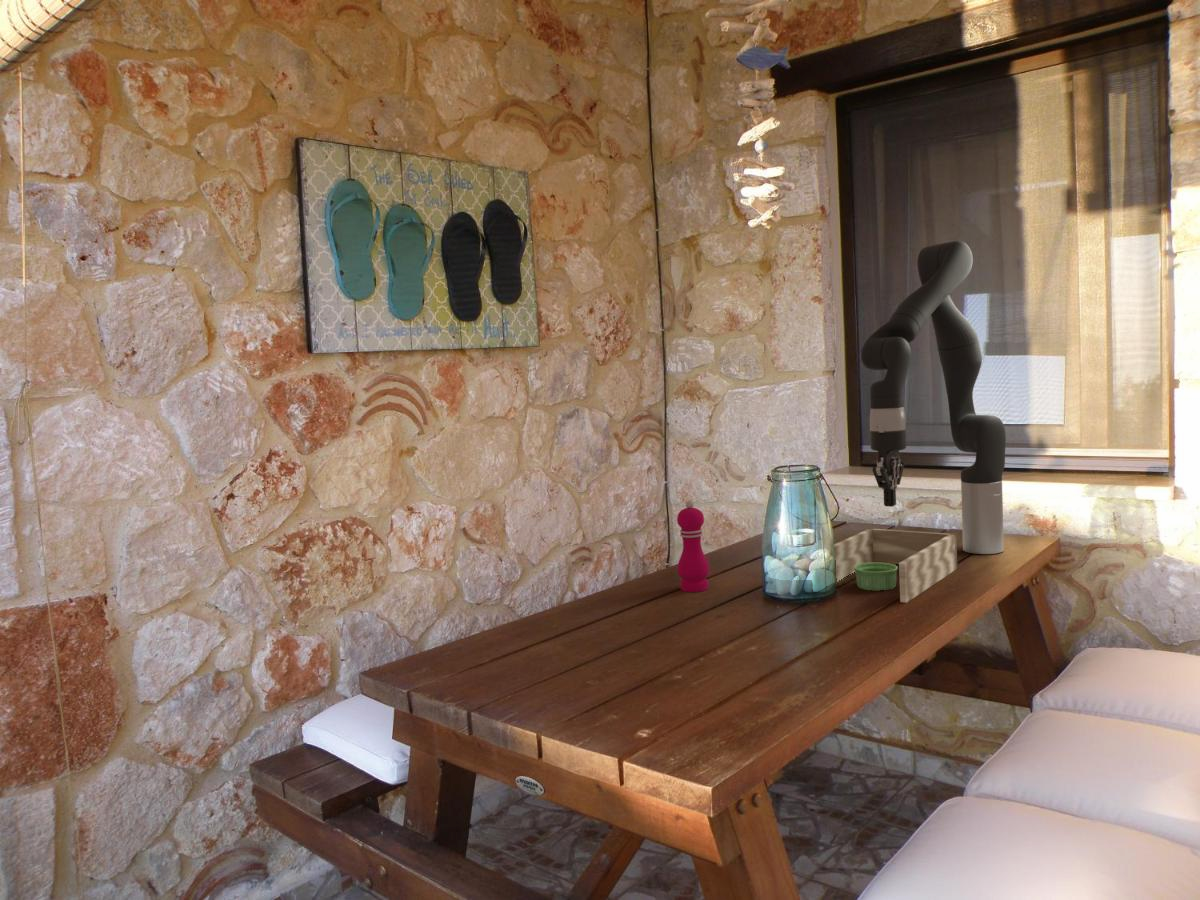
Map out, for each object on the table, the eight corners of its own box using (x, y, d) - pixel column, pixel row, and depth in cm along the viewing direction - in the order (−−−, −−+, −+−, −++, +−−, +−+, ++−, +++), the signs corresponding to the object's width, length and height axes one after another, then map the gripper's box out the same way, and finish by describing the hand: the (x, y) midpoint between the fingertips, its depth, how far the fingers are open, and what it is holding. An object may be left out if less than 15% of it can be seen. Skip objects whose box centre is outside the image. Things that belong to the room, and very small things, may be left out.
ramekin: (904, 590, 192) (903, 570, 192) (861, 593, 192) (861, 573, 192) (890, 580, 201) (889, 560, 200) (849, 583, 201) (849, 563, 200)
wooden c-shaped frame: (870, 561, 220) (869, 528, 219) (957, 568, 207) (956, 534, 206) (812, 592, 195) (810, 555, 194) (906, 602, 182) (904, 563, 181)
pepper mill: (710, 584, 208) (705, 497, 206) (711, 592, 201) (706, 502, 199) (678, 585, 208) (673, 499, 207) (678, 593, 201) (673, 504, 199)
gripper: (882, 425, 208) (885, 500, 210) (859, 431, 198) (861, 509, 200) (915, 425, 203) (917, 502, 205) (893, 431, 193) (895, 511, 195)
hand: (889, 505), depth 202 cm, fingers closed
